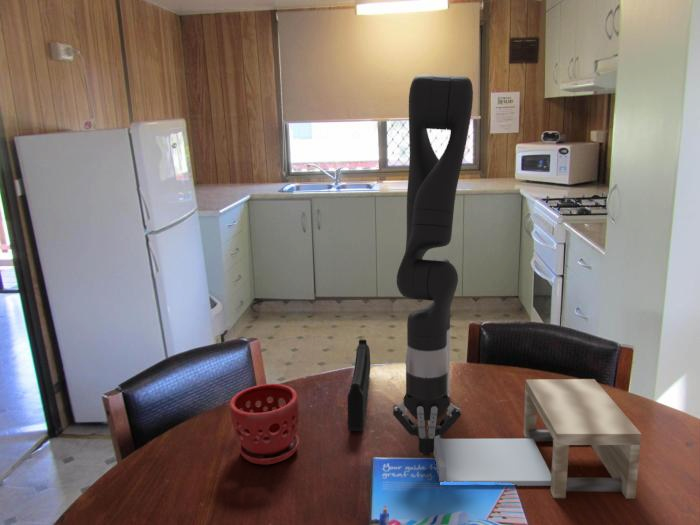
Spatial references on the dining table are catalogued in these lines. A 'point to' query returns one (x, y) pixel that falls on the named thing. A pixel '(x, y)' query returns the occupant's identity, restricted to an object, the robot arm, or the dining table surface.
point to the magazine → (359, 388)
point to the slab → (491, 461)
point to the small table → (583, 433)
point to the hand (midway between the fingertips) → (426, 453)
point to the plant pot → (266, 423)
